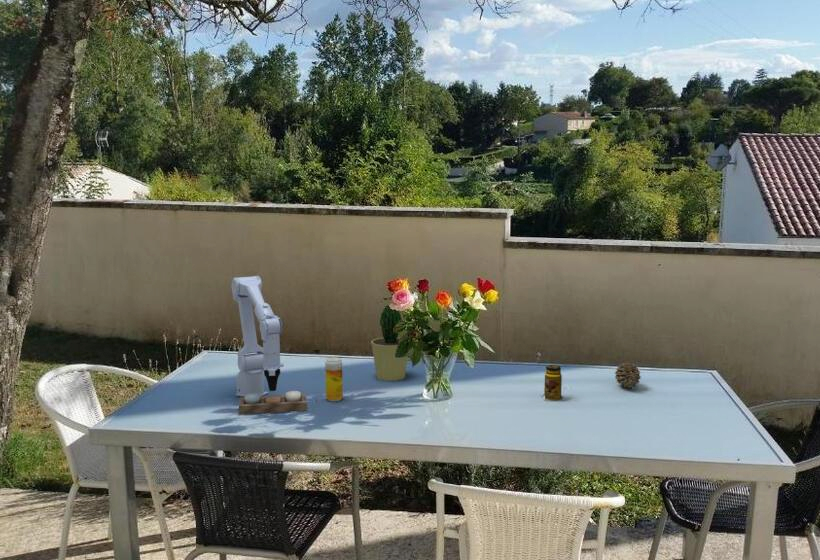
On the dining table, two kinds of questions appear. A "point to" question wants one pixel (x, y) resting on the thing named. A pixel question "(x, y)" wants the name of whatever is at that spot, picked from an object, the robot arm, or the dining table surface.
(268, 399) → the terracotta button
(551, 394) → the condiment
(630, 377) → the pine cone
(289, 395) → the cream button
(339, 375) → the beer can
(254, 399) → the slate button
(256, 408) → the button board
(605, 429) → the dining table surface
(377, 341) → the potted cactus
